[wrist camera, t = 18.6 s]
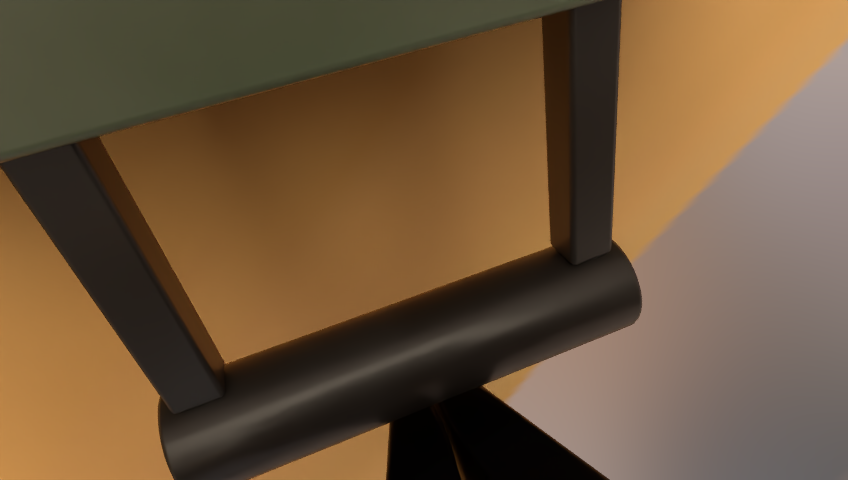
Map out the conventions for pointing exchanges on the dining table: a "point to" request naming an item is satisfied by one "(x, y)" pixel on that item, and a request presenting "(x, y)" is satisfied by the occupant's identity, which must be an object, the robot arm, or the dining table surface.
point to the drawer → (355, 338)
